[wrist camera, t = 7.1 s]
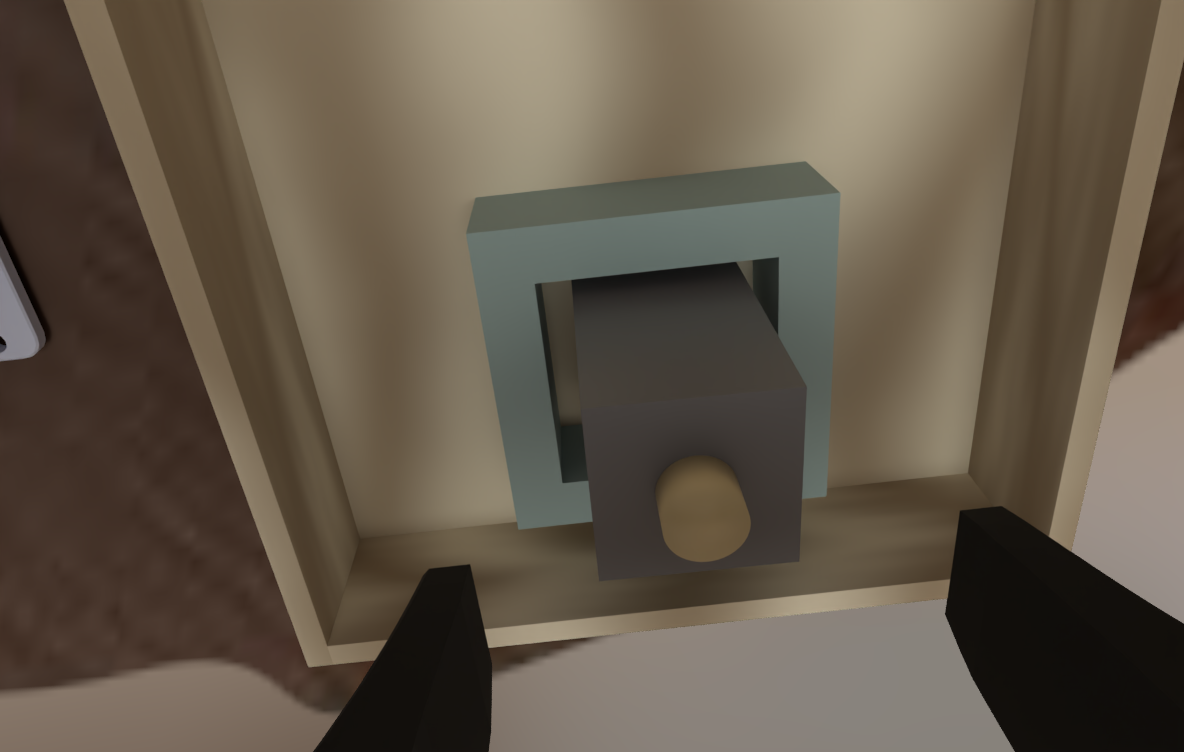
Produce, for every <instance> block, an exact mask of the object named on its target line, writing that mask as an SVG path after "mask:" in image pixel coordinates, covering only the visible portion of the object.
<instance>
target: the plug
mask: <svg viewBox="0 0 1184 752" xmlns="http://www.w3.org/2000/svg"><path fill="white" fill-rule="evenodd" d="M571 281H572V295H573V309H574V324H575V338H576V352H577V366H578V380H579V395H580V409H581V418H582V428H583V437H584V446H585V455H586V465H587V474H588V483H589V493H590V502H591V511H592V521H593V530H594V539H595V548H596V558H597V567H598V576H599V581H609V580H619V579H629V578H639V577H649V576H659V575H669V574H680V573H690V572H700V571H710V570H720V569H730V568H740V567H750V566H760V565H771V564H781V563H791V562H799V559H800V536H801V513H802V490H803V467H804V443H805V420H806V397H807V386H806V384H805V382H804V381H803V379H802V377H801V375H800V374H799V372H798V370H797V368H796V367H795V365H794V363H793V361H792V359H791V358H790V356H789V354H788V352H787V351H786V349H785V347H784V345H783V344H782V342H781V340H780V338H779V336H778V335H777V333H776V331H775V329H774V328H773V326H772V324H771V322H770V321H769V319H768V317H767V315H766V314H765V312H764V310H763V308H762V306H761V305H760V303H759V301H758V299H757V298H756V296H755V294H754V292H753V291H752V289H751V287H750V285H749V283H748V282H747V280H746V278H745V276H744V275H743V273H742V271H741V269H740V268H739V266H738V264H737V262H729V263H720V264H711V265H702V266H693V267H684V268H674V269H665V270H656V271H647V272H638V273H629V274H620V275H611V276H601V277H592V278H583V279H574V280H571Z"/></svg>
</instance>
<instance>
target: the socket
mask: <svg viewBox="0 0 1184 752" xmlns="http://www.w3.org/2000/svg"><path fill="white" fill-rule="evenodd" d="M839 215H840V192H839V191H838V190H837V189H836V188H835V187H834V186H832V185H831V184H830V183H829V182H828V181H827V180H826V179H825V178H824V177H822V176H821V175H820V174H819V173H818V172H817V171H816V170H815V169H814V168H813V167H811V166H810V165H809V164H808V163H807V162H806V161H804V162H795V163H785V164H776V165H767V166H758V167H749V168H740V169H731V170H722V171H713V172H704V173H695V174H685V175H676V176H667V177H658V178H649V179H640V180H631V181H622V182H613V183H604V184H594V185H585V186H576V187H567V188H558V189H549V190H540V191H531V192H522V193H513V194H504V195H494V196H485V197H476V198H475V201H474V205H473V209H472V213H471V216H470V220H469V224H468V228H467V232H466V237H467V243H468V248H469V254H470V260H471V265H472V271H473V277H474V282H475V288H476V294H477V299H478V305H479V310H480V316H481V322H482V327H483V333H484V339H485V344H486V350H487V356H488V361H489V367H490V373H491V378H492V384H493V389H494V395H495V401H496V406H497V412H498V418H499V423H500V429H501V435H502V440H503V446H504V451H505V457H506V463H507V468H508V474H509V480H510V485H511V491H512V497H513V502H514V508H515V514H516V519H517V525H518V530H520V529H529V528H538V527H548V526H557V525H566V524H575V523H585V522H593V521H592V511H591V502H590V493H589V483H588V474H587V465H586V455H585V446H584V437H583V428H582V424H581V425H571V426H562V427H561V424H560V416H559V409H558V401H557V394H556V387H555V379H554V372H553V365H552V357H551V350H550V343H549V335H548V328H547V321H546V313H545V306H544V299H543V291H542V284H541V283H547V282H556V281H565V280H574V279H583V278H592V277H601V276H611V275H620V274H629V273H638V272H647V271H656V270H665V269H674V268H684V267H693V266H702V265H711V264H720V263H729V262H738V261H748V260H753V292H754V294H755V296H756V298H757V299H758V301H759V303H760V305H761V306H762V308H763V310H764V312H765V314H766V315H767V317H768V319H769V321H770V322H771V324H772V326H773V328H774V329H775V331H776V333H777V335H778V336H779V338H780V340H781V342H782V344H783V345H784V347H785V349H786V351H787V352H788V354H789V356H790V358H791V359H792V361H793V363H794V365H795V367H796V368H797V370H798V372H799V374H800V375H801V377H802V379H803V381H804V382H805V384H806V386H807V397H806V420H805V443H804V467H803V490H802V499H806V498H816V497H825V496H827V476H828V455H829V433H830V411H831V389H832V367H833V346H834V324H835V302H836V280H837V258H838V237H839Z"/></svg>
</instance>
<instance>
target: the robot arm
mask: <svg viewBox="0 0 1184 752" xmlns="http://www.w3.org/2000/svg"><path fill="white" fill-rule="evenodd" d="M0 336H1V337H2V338H3V339H4V340H5V341H6V345H2V344H0V361H7V360H16V359H25V358H29V357H32V356H34V355H35V354H36V353H37V352H38V351H40V350H41V349H42V348H43V347H44V345H45V341H46V338H45V333H44V330H43V328H42V326H41V324H40V322H39V320H38V317H37V315H36V313H35V311H34V309H33V306H32V304H31V302H30V300H29V298H28V295H27V293H26V291H25V289H24V287H23V285H22V282H21V280H20V278H19V276H18V274H17V271H16V269H15V267H14V265H13V263H12V260H11V258H10V256H9V254H8V252H7V249H6V247H5V245H4V243H3V241H2V239H1V236H0ZM945 615H946V617H947V620H948V622H949V625H950V627H951V630H952V632H953V635H954V637H955V639H956V642H957V644H958V647H959V649H960V651H961V654H962V656H963V658H964V660H965V662H966V665H967V667H968V669H969V672H970V674H971V676H972V678H973V680H974V682H975V683H976V685H977V687H978V689H979V691H980V693H981V694H982V696H983V698H984V699H985V701H986V703H987V705H988V706H989V708H990V710H991V712H992V713H993V715H994V717H995V718H996V720H997V722H998V723H999V725H1000V727H1001V729H1002V731H1003V732H1004V734H1005V736H1006V737H1007V739H1008V741H1009V742H1010V744H1011V746H1012V747H1013V749H1014V751H1015V752H1184V624H1183V623H1182V622H1180V621H1178V620H1177V619H1175V618H1173V617H1172V616H1170V615H1168V614H1167V613H1165V612H1164V611H1162V610H1160V609H1158V608H1157V607H1155V606H1154V605H1152V604H1151V603H1149V602H1147V601H1146V600H1144V599H1143V598H1141V597H1139V596H1138V595H1136V594H1135V593H1133V592H1131V591H1130V590H1128V589H1127V588H1125V587H1124V586H1122V585H1120V584H1119V583H1117V582H1116V581H1115V580H1113V579H1111V578H1110V577H1108V576H1107V575H1105V574H1104V573H1102V572H1101V571H1099V570H1098V569H1096V568H1095V567H1093V566H1092V565H1090V564H1089V563H1087V562H1086V561H1084V560H1083V559H1081V558H1080V557H1078V556H1077V555H1075V554H1074V553H1072V552H1071V551H1069V550H1068V549H1066V548H1065V547H1063V546H1062V545H1060V544H1059V543H1058V542H1056V541H1055V540H1053V539H1052V538H1050V537H1049V536H1047V535H1046V534H1044V533H1043V532H1041V531H1040V530H1038V529H1037V528H1035V527H1034V526H1032V525H1031V524H1029V523H1028V522H1026V521H1025V520H1023V519H1022V518H1020V517H1019V516H1017V515H1015V514H1014V513H1012V512H1011V511H1009V510H1007V509H1006V508H1004V507H1003V506H996V507H987V508H978V509H968V510H960V513H959V521H958V528H957V535H956V542H955V549H954V556H953V563H952V570H951V577H950V584H949V591H948V598H947V605H946V612H945ZM491 706H492V662H491V657H490V653H489V648H488V643H487V639H486V634H485V630H484V625H483V621H482V616H481V611H480V607H479V602H478V598H477V593H476V588H475V584H474V579H473V575H472V570H471V565H470V564H467V565H458V566H449V567H439V568H430V569H428V570H427V571H426V573H425V574H424V575H423V576H422V578H421V580H420V582H419V584H418V586H417V588H416V590H415V592H414V594H413V595H412V597H411V599H410V601H409V603H408V605H407V607H406V608H405V610H404V612H403V614H402V616H401V617H400V619H399V621H398V623H397V624H396V626H395V628H394V630H393V631H392V633H391V635H390V637H389V638H388V640H387V642H386V643H385V645H384V647H383V648H382V650H381V651H380V653H379V655H378V656H377V658H376V660H375V661H374V663H373V664H372V666H371V668H370V669H369V671H368V672H367V674H366V676H365V677H364V679H363V681H362V682H361V684H360V685H359V687H358V688H357V690H356V691H355V693H354V694H353V696H352V697H351V699H350V700H349V702H348V703H347V704H346V706H345V707H344V709H343V710H342V712H341V713H340V715H339V716H338V717H337V719H336V720H335V722H334V723H333V725H332V726H331V728H330V729H329V730H328V732H327V733H326V735H325V736H324V738H323V739H322V741H321V742H320V743H319V745H318V746H317V747H316V749H315V750H314V751H313V752H488V751H489V743H490V735H491V708H492V707H491Z"/></svg>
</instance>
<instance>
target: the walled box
mask: <svg viewBox="0 0 1184 752" xmlns="http://www.w3.org/2000/svg"><path fill="white" fill-rule="evenodd" d="M64 2H65V5H66V8H67V10H68V13H69V16H70V19H71V21H72V24H73V27H74V29H75V32H76V35H77V38H78V40H79V43H80V46H81V49H82V51H83V54H84V57H85V59H86V62H87V65H88V68H89V70H90V73H91V76H92V79H93V81H94V84H95V87H96V89H97V92H98V95H99V98H100V100H101V103H102V106H103V109H104V111H105V114H106V117H107V119H108V122H109V125H110V128H111V130H112V133H113V136H114V138H115V141H116V144H117V147H118V149H119V152H120V155H121V158H122V160H123V163H124V166H125V168H126V171H127V174H128V177H129V179H130V182H131V185H132V188H133V190H134V193H135V196H136V198H137V201H138V204H139V207H140V209H141V212H142V215H143V218H144V220H145V223H146V226H147V228H148V231H149V234H150V237H151V239H152V242H153V245H154V248H155V250H156V253H157V256H158V258H159V261H160V264H161V267H162V269H163V272H164V275H165V278H166V280H167V283H168V286H169V288H170V291H171V294H172V297H173V299H174V302H175V305H176V308H177V310H178V313H179V316H180V318H181V321H182V324H183V327H184V329H185V332H186V335H187V338H188V340H189V343H190V346H191V348H192V351H193V354H194V357H195V359H196V362H197V365H198V367H199V370H200V373H201V376H202V378H203V381H204V384H205V387H206V389H207V392H208V395H209V397H210V400H211V403H212V406H213V408H214V411H215V414H216V417H217V419H218V422H219V425H220V427H221V430H222V433H223V436H224V438H225V441H226V444H227V447H228V449H229V452H230V455H231V457H232V460H233V463H234V466H235V468H236V471H237V474H238V477H239V479H240V482H241V485H242V487H243V490H244V493H245V496H246V498H247V501H248V504H249V507H250V509H251V512H252V515H253V517H254V520H255V523H256V526H257V528H258V531H259V534H260V537H261V539H262V542H263V545H264V547H265V550H266V553H267V556H268V558H269V561H270V564H271V567H272V569H273V572H274V575H275V577H276V580H277V583H278V586H279V588H280V591H281V594H282V596H283V599H284V602H285V605H286V607H287V610H288V613H289V616H290V618H291V621H292V624H293V626H294V629H295V632H296V635H297V637H298V640H299V643H300V646H301V648H302V651H303V654H304V656H305V659H306V662H307V665H308V667H315V666H324V665H334V664H343V663H352V662H362V661H371V660H376V658H377V656H378V655H379V653H380V651H381V650H382V648H383V647H384V645H385V643H386V642H387V640H388V638H389V637H390V635H391V633H392V631H393V630H394V628H395V626H396V624H397V623H398V621H399V619H400V617H401V616H402V614H403V612H404V610H405V608H406V607H407V605H408V603H409V601H410V599H411V597H412V595H413V594H414V592H415V590H416V588H417V586H418V584H419V582H420V580H421V578H422V576H423V575H424V574H425V573H426V571H427V570H428V569H430V568H439V567H449V566H458V565H467V564H470V565H471V570H472V575H473V579H474V584H475V588H476V593H477V598H478V602H479V607H480V611H481V616H482V621H483V625H484V630H485V634H486V639H487V643H488V648H492V647H501V646H510V645H520V644H529V643H538V642H547V641H557V640H566V639H575V638H585V637H594V636H603V635H612V634H622V633H631V632H640V631H650V630H658V629H668V628H677V627H686V626H695V625H705V624H715V623H724V622H733V621H743V620H751V619H761V618H770V617H780V616H788V615H798V614H807V613H816V612H826V611H835V610H845V609H854V608H863V607H871V606H872V607H873V606H882V605H891V604H901V603H910V602H919V601H928V600H938V599H946V598H948V591H949V584H950V577H951V570H952V563H953V556H954V549H955V542H956V535H957V528H958V521H959V513H960V510H968V509H978V508H987V507H996V506H1003V507H1004V508H1006V509H1007V510H1009V511H1011V512H1012V513H1014V514H1015V515H1017V516H1019V517H1020V518H1022V519H1023V520H1025V521H1026V522H1028V523H1029V524H1031V525H1032V526H1034V527H1035V528H1037V529H1038V530H1040V531H1041V532H1043V533H1044V534H1046V535H1047V536H1049V537H1050V538H1052V539H1053V540H1055V541H1056V542H1058V543H1059V544H1060V545H1062V546H1063V547H1065V548H1066V549H1068V550H1069V551H1071V550H1072V546H1073V541H1074V537H1075V533H1076V528H1077V524H1078V520H1079V515H1080V511H1081V506H1082V502H1083V497H1084V493H1085V489H1086V485H1087V480H1088V476H1089V471H1090V467H1091V463H1092V458H1093V454H1094V450H1095V445H1096V441H1097V436H1098V432H1099V428H1100V423H1101V419H1102V415H1103V410H1104V406H1105V401H1106V397H1107V393H1108V388H1109V384H1110V380H1111V375H1112V371H1113V367H1114V362H1115V358H1116V353H1117V349H1118V345H1119V340H1120V336H1121V332H1122V327H1123V323H1124V319H1125V314H1126V310H1127V305H1128V301H1129V297H1130V292H1131V288H1132V284H1133V279H1134V275H1135V270H1136V266H1137V262H1138V257H1139V253H1140V249H1141V244H1142V240H1143V235H1144V231H1145V227H1146V222H1147V218H1148V214H1149V209H1150V205H1151V200H1152V196H1153V192H1154V187H1155V183H1156V179H1157V174H1158V170H1159V165H1160V161H1161V157H1162V152H1163V148H1164V144H1165V139H1166V135H1167V130H1168V126H1169V122H1170V117H1171V113H1172V109H1173V104H1174V100H1175V95H1176V91H1177V87H1178V82H1179V78H1180V74H1181V69H1182V65H1183V60H1184V0H64ZM804 161H806V162H807V163H808V164H809V165H810V166H811V167H813V168H814V169H815V170H816V171H817V172H818V173H819V174H820V175H821V176H822V177H824V178H825V179H826V180H827V181H828V182H829V183H830V184H831V185H832V186H834V187H835V188H836V189H837V190H838V191H839V192H840V215H839V237H838V258H837V280H836V302H835V324H834V346H833V367H832V389H831V411H830V433H829V455H828V476H827V496H825V497H816V498H806V499H802V513H801V536H800V559H799V562H791V563H781V564H771V565H760V566H750V567H740V568H730V569H720V570H710V571H700V572H690V573H680V574H669V575H659V576H649V577H639V578H629V579H619V580H609V581H599V576H598V567H597V558H596V548H595V539H594V530H593V522H585V523H575V524H566V525H557V526H548V527H538V528H529V529H520V530H518V525H517V519H516V514H515V508H514V502H513V497H512V491H511V485H510V480H509V474H508V468H507V463H506V457H505V451H504V446H503V440H502V435H501V429H500V423H499V418H498V412H497V406H496V401H495V395H494V389H493V384H492V378H491V373H490V367H489V361H488V356H487V350H486V344H485V339H484V333H483V327H482V322H481V316H480V310H479V305H478V299H477V294H476V288H475V282H474V277H473V271H472V265H471V260H470V254H469V248H468V243H467V237H466V232H467V228H468V224H469V220H470V216H471V213H472V209H473V205H474V201H475V198H476V197H485V196H494V195H504V194H513V193H522V192H531V191H540V190H549V189H558V188H567V187H576V186H585V185H594V184H604V183H613V182H622V181H631V180H640V179H649V178H658V177H667V176H676V175H685V174H695V173H704V172H713V171H722V170H731V169H740V168H749V167H758V166H767V165H776V164H785V163H795V162H804ZM737 264H738V266H739V268H740V269H741V271H742V273H743V275H744V276H745V278H746V280H747V282H748V283H749V285H750V287H751V289H752V291H753V260H748V261H738V262H737ZM541 284H542V291H543V299H544V306H545V313H546V321H547V328H548V335H549V343H550V350H551V357H552V365H553V372H554V379H555V387H556V394H557V401H558V409H559V416H560V424H561V427H562V426H571V425H581V424H582V418H581V409H580V395H579V380H578V366H577V352H576V338H575V324H574V309H573V295H572V281H571V280H565V281H556V282H547V283H541Z"/></svg>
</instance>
